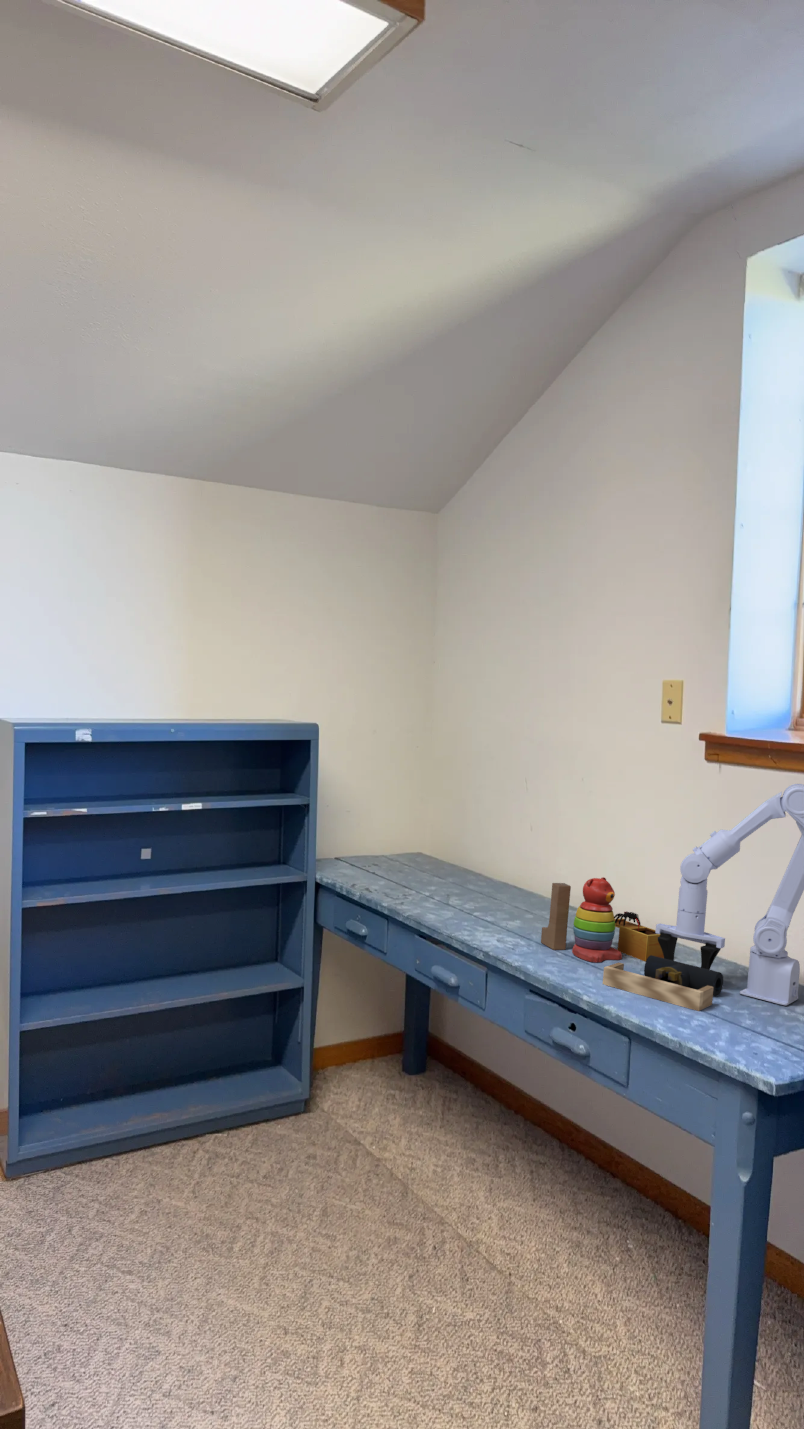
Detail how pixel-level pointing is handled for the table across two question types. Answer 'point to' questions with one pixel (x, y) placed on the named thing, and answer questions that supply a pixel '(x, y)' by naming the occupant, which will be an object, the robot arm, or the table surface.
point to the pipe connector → (683, 974)
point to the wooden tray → (657, 988)
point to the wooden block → (557, 918)
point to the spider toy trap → (636, 938)
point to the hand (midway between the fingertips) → (686, 974)
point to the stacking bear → (595, 923)
